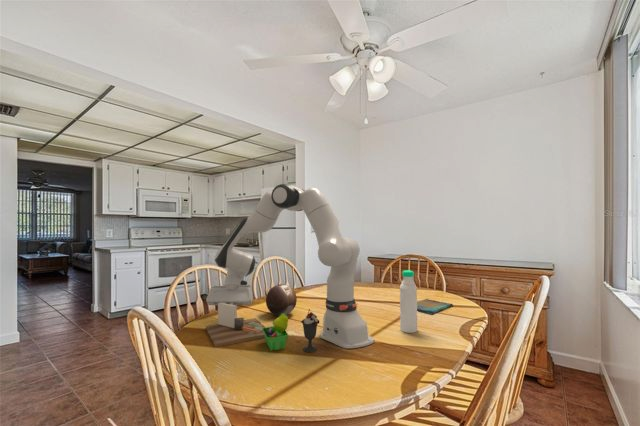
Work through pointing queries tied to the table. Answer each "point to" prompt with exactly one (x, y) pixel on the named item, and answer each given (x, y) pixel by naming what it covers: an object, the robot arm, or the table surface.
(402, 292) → the water bottle
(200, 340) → the table surface
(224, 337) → the wooden board
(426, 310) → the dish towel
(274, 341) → the fruit basket
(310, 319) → the sundae
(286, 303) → the wooden sphere
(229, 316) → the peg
